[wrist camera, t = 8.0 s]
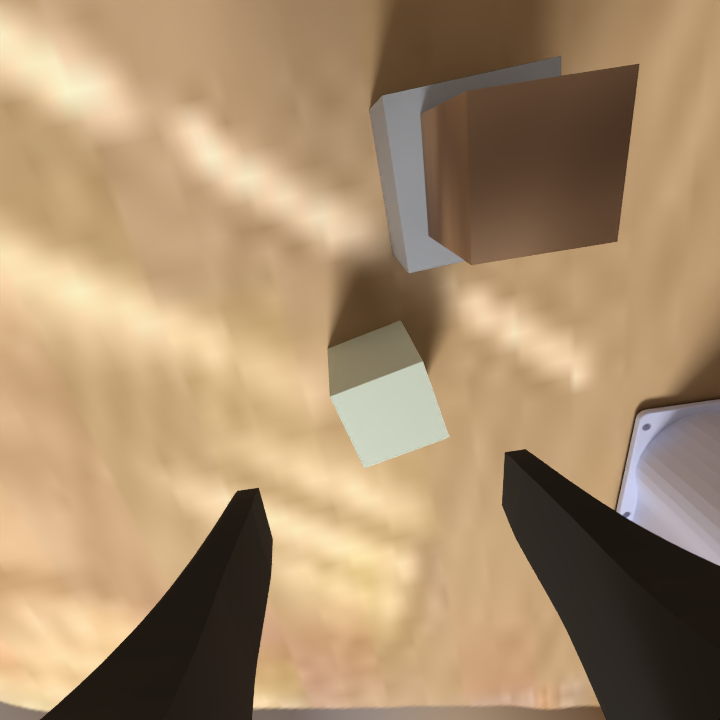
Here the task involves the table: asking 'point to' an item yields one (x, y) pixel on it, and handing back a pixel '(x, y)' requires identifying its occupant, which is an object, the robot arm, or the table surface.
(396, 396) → the sage block
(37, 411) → the table surface
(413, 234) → the grey base block
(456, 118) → the walnut block
